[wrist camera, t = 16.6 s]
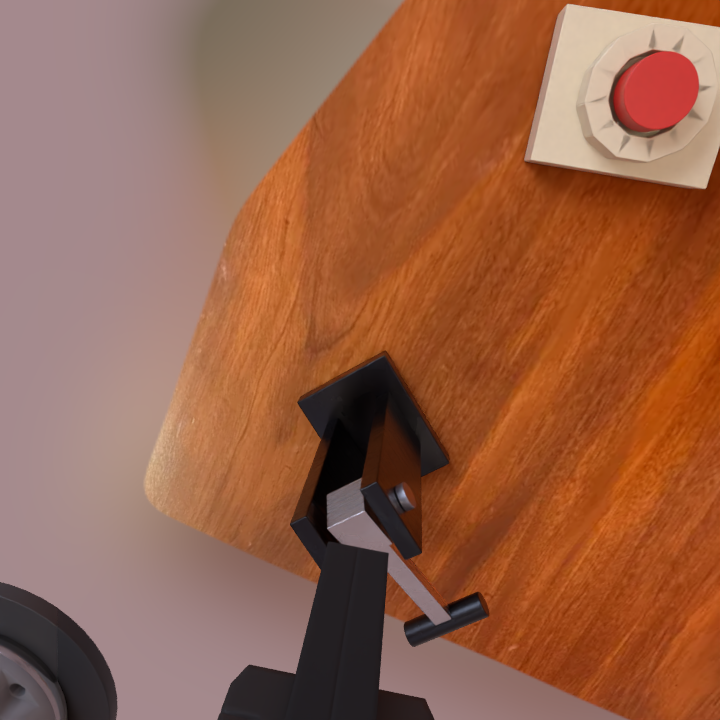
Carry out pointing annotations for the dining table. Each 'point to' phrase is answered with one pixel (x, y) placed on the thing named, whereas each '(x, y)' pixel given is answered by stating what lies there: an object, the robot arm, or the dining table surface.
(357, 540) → the switch lever
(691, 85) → the red button
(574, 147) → the button housing
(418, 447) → the switch bracket
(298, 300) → the dining table surface
